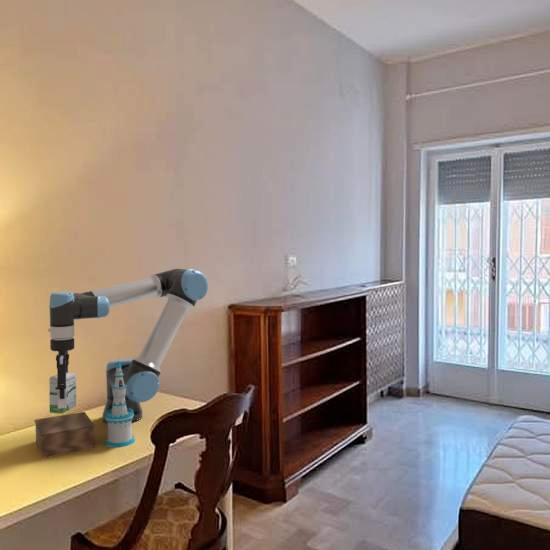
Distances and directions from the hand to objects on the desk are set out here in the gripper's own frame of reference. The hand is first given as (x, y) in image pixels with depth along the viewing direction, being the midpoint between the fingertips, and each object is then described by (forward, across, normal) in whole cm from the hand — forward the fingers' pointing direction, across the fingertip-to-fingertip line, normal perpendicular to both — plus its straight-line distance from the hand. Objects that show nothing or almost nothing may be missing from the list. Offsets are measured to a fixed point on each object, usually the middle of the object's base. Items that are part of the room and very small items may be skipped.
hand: (63, 403), depth 175 cm
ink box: (+2, 0, 0) cm, 2 cm away
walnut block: (+15, 0, 0) cm, 15 cm away
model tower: (+14, +3, +18) cm, 23 cm away
